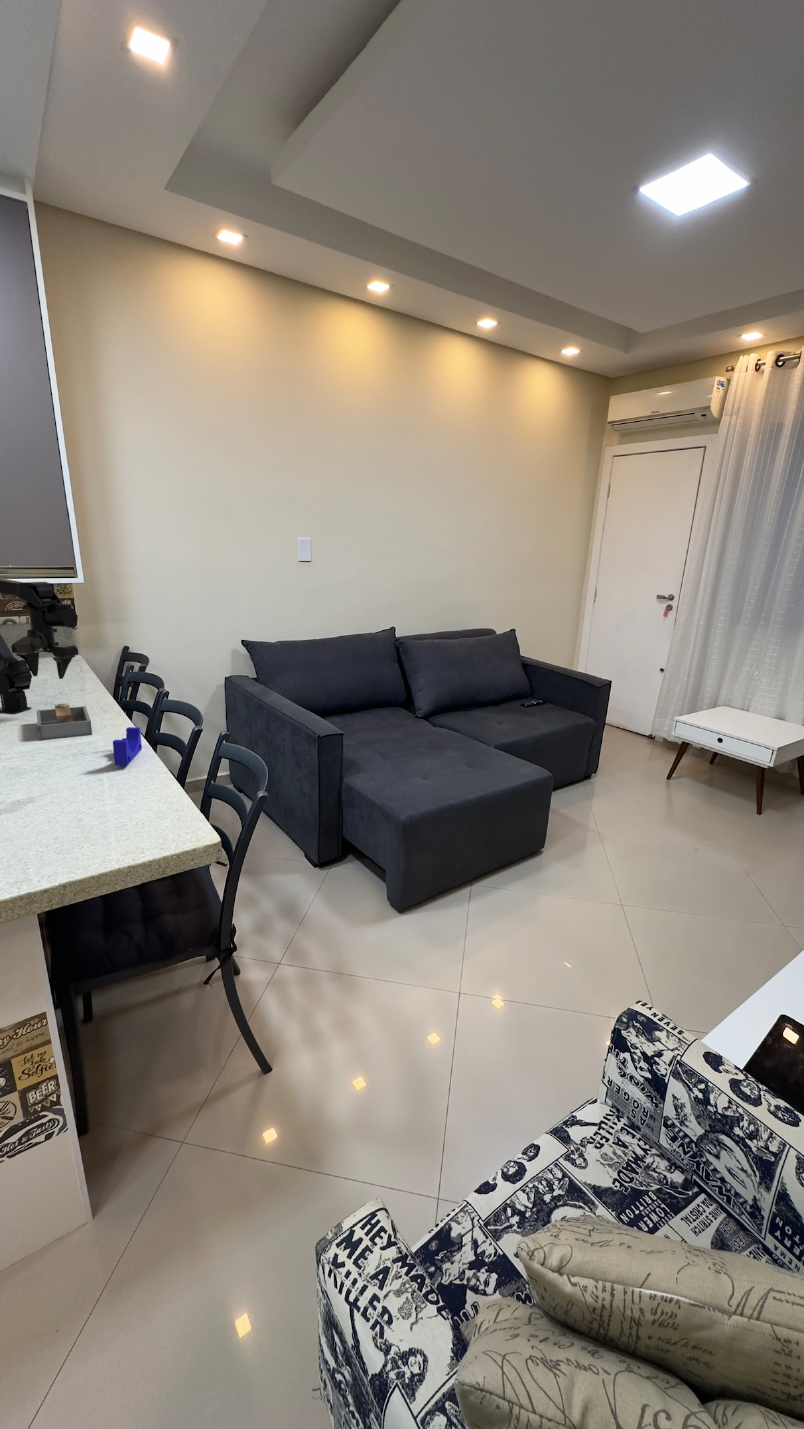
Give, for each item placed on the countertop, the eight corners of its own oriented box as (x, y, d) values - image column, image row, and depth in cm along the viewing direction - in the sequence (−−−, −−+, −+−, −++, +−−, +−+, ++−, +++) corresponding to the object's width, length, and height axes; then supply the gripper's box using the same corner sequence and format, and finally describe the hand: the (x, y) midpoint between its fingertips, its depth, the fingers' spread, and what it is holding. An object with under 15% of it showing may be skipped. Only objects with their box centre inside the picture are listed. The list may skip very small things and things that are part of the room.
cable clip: (123, 749, 154) (121, 727, 152) (141, 749, 154) (140, 727, 153) (108, 765, 142) (106, 741, 141) (127, 765, 143) (125, 741, 141)
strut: (58, 733, 161) (56, 713, 160) (56, 722, 171) (54, 703, 170) (73, 731, 163) (71, 712, 162) (70, 720, 173) (68, 702, 171)
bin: (38, 723, 171) (36, 710, 170) (86, 718, 178) (85, 706, 177) (39, 740, 157) (37, 726, 156) (92, 734, 163) (90, 721, 162)
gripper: (-9, 626, 166) (-1, 680, 170) (46, 630, 162) (53, 685, 167) (24, 622, 177) (30, 673, 181) (76, 626, 173) (82, 678, 177)
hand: (48, 677), depth 176 cm, fingers open, 9 cm apart
